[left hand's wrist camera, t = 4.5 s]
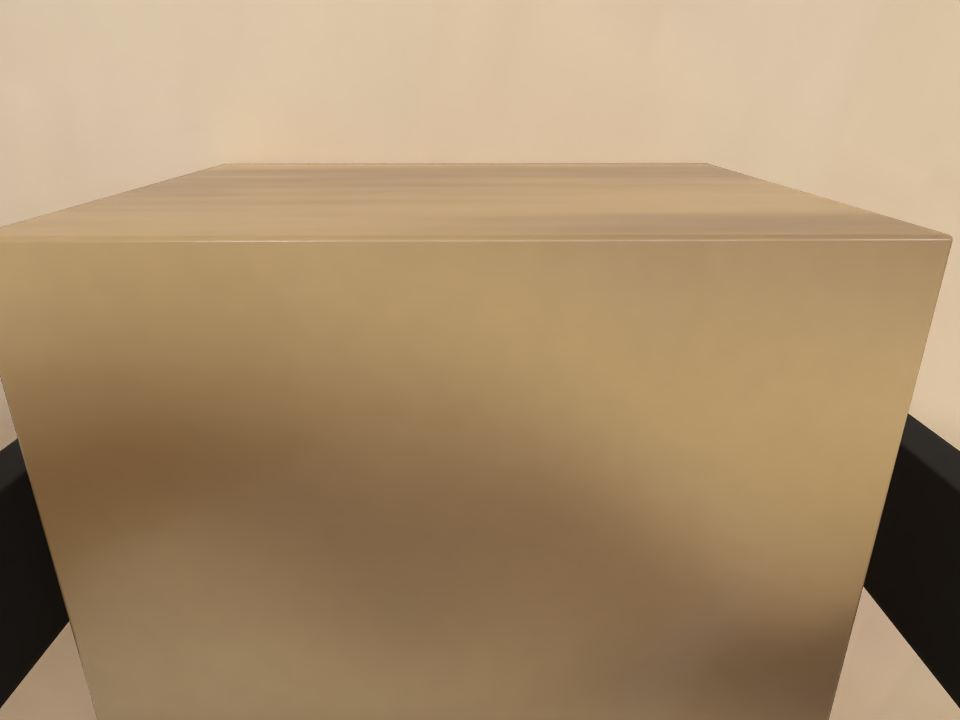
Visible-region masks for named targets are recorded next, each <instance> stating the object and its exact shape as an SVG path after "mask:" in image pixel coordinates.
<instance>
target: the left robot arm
mask: <svg viewBox="0 0 960 720" xmlns="http://www.w3.org/2000/svg"><path fill="white" fill-rule="evenodd" d="M863 586H864V588H865V589H866V590H867V591H868V593H869V594H870V595H871V596H872V598H873V599H874V600H875V601H876V603H877V604H878V605H879V607H880V608H881V609H882V610H883V612H884V613H885V614H886V615H887V617H888V618H889V619H890V621H891V622H892V623H893V624H894V626H895V627H896V628H897V629H898V631H899V632H900V633H901V634H902V636H903V637H904V638H905V640H906V641H907V642H908V643H909V645H910V646H911V647H912V648H913V650H914V651H915V652H916V653H917V655H918V656H919V657H920V659H921V660H922V661H923V662H924V664H925V665H926V666H927V667H928V669H929V670H930V671H931V672H932V674H933V675H934V676H935V678H936V679H937V680H938V681H939V683H940V684H941V685H942V686H943V688H944V689H945V690H946V691H947V693H948V694H949V695H950V697H951V698H952V699H953V700H954V702H955V703H956V704H957V705H958V707H959V708H960V451H959V450H957V449H956V448H955V447H953V446H952V445H950V444H949V443H948V442H946V441H945V440H944V439H942V438H941V437H940V436H938V435H937V434H935V433H934V432H933V431H931V430H930V429H929V428H927V427H926V426H925V425H923V424H922V423H920V422H919V421H918V420H916V419H915V418H914V417H912V416H911V415H909V414H908V415H907V418H906V422H905V426H904V430H903V434H902V438H901V442H900V446H899V449H898V453H897V457H896V461H895V465H894V469H893V473H892V476H891V480H890V484H889V488H888V492H887V496H886V500H885V504H884V507H883V511H882V515H881V519H880V523H879V527H878V531H877V534H876V538H875V542H874V546H873V550H872V554H871V558H870V562H869V565H868V569H867V573H866V577H865V581H864V585H863ZM68 622H69V617H68V614H67V610H66V607H65V603H64V599H63V596H62V592H61V589H60V585H59V582H58V578H57V575H56V571H55V568H54V564H53V561H52V557H51V554H50V550H49V547H48V543H47V539H46V536H45V532H44V529H43V525H42V522H41V518H40V515H39V511H38V508H37V504H36V501H35V497H34V494H33V490H32V487H31V483H30V479H29V476H28V472H27V469H26V465H25V462H24V458H23V455H22V451H21V448H20V444H19V441H18V439H16V440H15V441H14V442H12V443H11V444H10V445H8V446H7V447H5V448H4V449H3V450H1V451H0V708H1V707H2V705H3V704H4V703H5V702H6V700H7V699H8V698H9V697H10V695H11V694H12V693H13V691H14V690H15V689H16V688H17V686H18V685H19V684H20V683H21V681H22V680H23V679H24V678H25V676H26V675H27V674H28V672H29V671H30V670H31V669H32V667H33V666H34V665H35V664H36V662H37V661H38V660H39V659H40V657H41V656H42V655H43V653H44V652H45V651H46V650H47V648H48V647H49V646H50V645H51V643H52V642H53V641H54V640H55V638H56V637H57V636H58V634H59V633H60V632H61V631H62V629H63V628H64V627H65V626H66V624H67V623H68Z"/></svg>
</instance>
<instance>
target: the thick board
mask: <svg viewBox="0 0 960 720" xmlns="http://www.w3.org/2000/svg"><path fill="white" fill-rule="evenodd" d="M951 244H952V237H951V236H950V235H948V234H945V233H941V232H938V231H934V230H931V229H928V228H924V227H921V226H917V225H914V224H911V223H907V222H904V221H900V220H897V219H894V218H890V217H887V216H883V215H880V214H877V213H873V212H870V211H866V210H863V209H860V208H856V207H853V206H849V205H846V204H843V203H839V202H836V201H832V200H829V199H826V198H822V197H819V196H815V195H812V194H809V193H805V192H802V191H798V190H795V189H792V188H788V187H785V186H781V185H778V184H775V183H771V182H768V181H764V180H761V179H758V178H754V177H751V176H747V175H744V174H741V173H737V172H734V171H730V170H727V169H724V168H720V167H717V166H713V165H710V164H707V163H635V164H223V165H219V166H216V167H212V168H209V169H205V170H202V171H198V172H195V173H191V174H187V175H184V176H180V177H177V178H173V179H170V180H166V181H163V182H159V183H156V184H152V185H148V186H145V187H141V188H138V189H134V190H131V191H127V192H124V193H120V194H117V195H113V196H110V197H106V198H102V199H99V200H95V201H92V202H88V203H85V204H81V205H78V206H74V207H71V208H67V209H63V210H60V211H56V212H53V213H49V214H46V215H42V216H39V217H35V218H32V219H28V220H25V221H21V222H17V223H14V224H10V225H7V226H3V227H0V377H1V381H2V384H3V388H4V391H5V395H6V398H7V402H8V405H9V409H10V412H11V416H12V420H13V423H14V427H15V430H16V434H17V437H18V441H19V444H20V448H21V451H22V455H23V458H24V462H25V465H26V469H27V472H28V476H29V479H30V483H31V487H32V490H33V494H34V497H35V501H36V504H37V508H38V511H39V515H40V518H41V522H42V525H43V529H44V532H45V536H46V539H47V543H48V547H49V550H50V554H51V557H52V561H53V564H54V568H55V571H56V575H57V578H58V582H59V585H60V589H61V592H62V596H63V599H64V603H65V607H66V610H67V614H68V617H69V621H70V624H71V628H72V631H73V635H74V638H75V642H76V645H77V649H78V652H79V656H80V659H81V663H82V666H83V670H84V674H85V677H86V681H87V684H88V688H89V691H90V695H91V698H92V702H93V705H94V709H95V712H96V716H97V719H98V720H829V716H830V712H831V709H832V705H833V701H834V697H835V693H836V689H837V685H838V682H839V678H840V674H841V670H842V666H843V662H844V658H845V654H846V651H847V647H848V643H849V639H850V635H851V631H852V627H853V623H854V620H855V616H856V612H857V608H858V604H859V600H860V596H861V593H862V589H863V585H864V581H865V577H866V573H867V569H868V565H869V562H870V558H871V554H872V550H873V546H874V542H875V538H876V534H877V531H878V527H879V523H880V519H881V515H882V511H883V507H884V504H885V500H886V496H887V492H888V488H889V484H890V480H891V476H892V473H893V469H894V465H895V461H896V457H897V453H898V449H899V446H900V442H901V438H902V434H903V430H904V426H905V422H906V418H907V415H908V411H909V407H910V403H911V399H912V395H913V391H914V387H915V384H916V380H917V376H918V372H919V368H920V364H921V360H922V357H923V353H924V349H925V345H926V341H927V337H928V333H929V329H930V326H931V322H932V318H933V314H934V310H935V306H936V302H937V298H938V295H939V291H940V287H941V283H942V279H943V275H944V271H945V268H946V264H947V260H948V256H949V252H950V248H951Z"/></svg>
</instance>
